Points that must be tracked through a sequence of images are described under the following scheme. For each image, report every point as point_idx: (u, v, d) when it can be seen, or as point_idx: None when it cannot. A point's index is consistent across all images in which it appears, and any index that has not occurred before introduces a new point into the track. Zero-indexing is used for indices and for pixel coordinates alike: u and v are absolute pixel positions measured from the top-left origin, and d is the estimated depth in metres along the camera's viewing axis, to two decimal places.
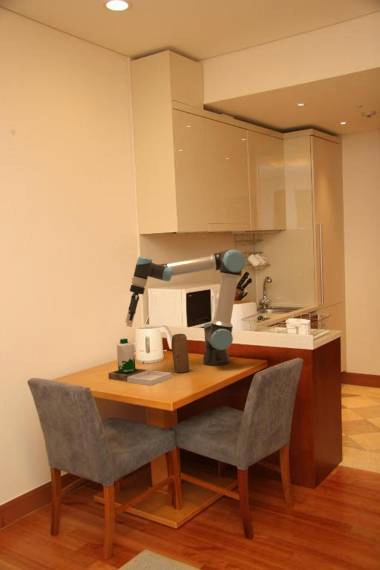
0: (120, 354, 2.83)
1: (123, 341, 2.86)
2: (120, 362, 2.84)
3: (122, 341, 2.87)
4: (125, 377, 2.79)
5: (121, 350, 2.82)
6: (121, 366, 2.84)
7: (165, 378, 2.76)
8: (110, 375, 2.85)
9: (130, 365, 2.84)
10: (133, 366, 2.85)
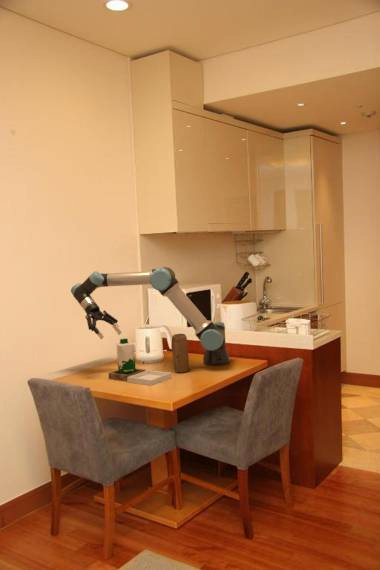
0: (120, 354, 2.83)
1: (123, 341, 2.86)
2: (120, 362, 2.84)
3: (122, 341, 2.87)
4: (125, 377, 2.79)
5: (121, 350, 2.82)
6: (121, 366, 2.84)
7: (165, 378, 2.76)
8: (110, 375, 2.85)
9: (130, 365, 2.84)
10: (133, 366, 2.85)
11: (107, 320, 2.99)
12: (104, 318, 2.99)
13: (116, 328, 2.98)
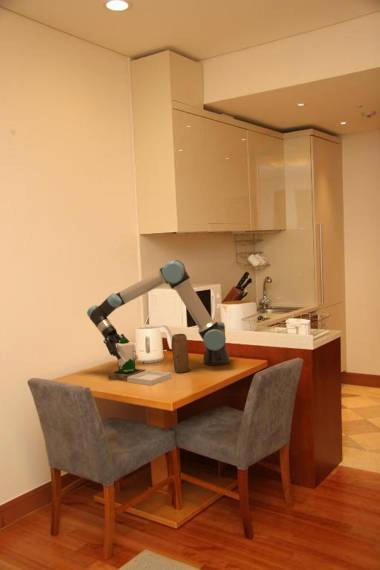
0: None
1: (123, 341, 2.86)
2: (120, 362, 2.84)
3: (122, 341, 2.86)
4: (125, 377, 2.79)
5: (121, 350, 2.82)
6: (121, 366, 2.84)
7: (165, 378, 2.76)
8: (110, 375, 2.85)
9: (130, 365, 2.83)
10: (133, 366, 2.85)
11: None
12: None
13: None
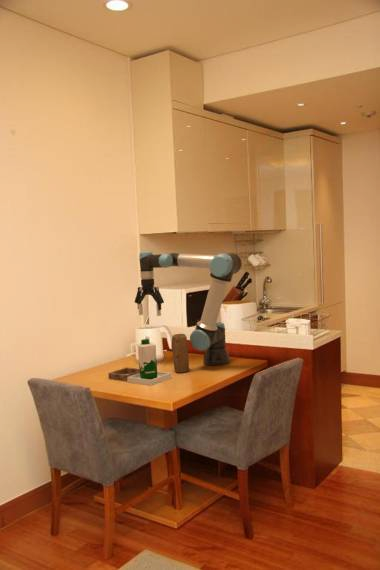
0: (141, 355, 2.74)
1: (144, 342, 2.77)
2: (141, 363, 2.74)
3: (143, 342, 2.77)
4: (125, 377, 2.79)
5: (142, 351, 2.73)
6: (142, 368, 2.74)
7: (165, 378, 2.76)
8: (110, 375, 2.85)
9: (152, 367, 2.74)
10: (155, 368, 2.75)
11: None
12: None
13: None
